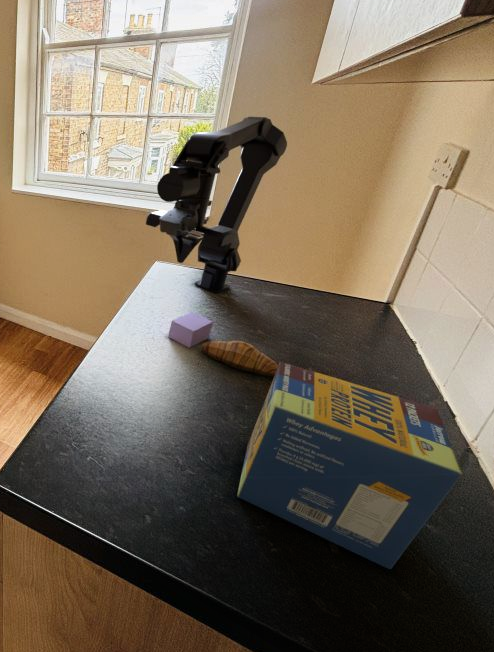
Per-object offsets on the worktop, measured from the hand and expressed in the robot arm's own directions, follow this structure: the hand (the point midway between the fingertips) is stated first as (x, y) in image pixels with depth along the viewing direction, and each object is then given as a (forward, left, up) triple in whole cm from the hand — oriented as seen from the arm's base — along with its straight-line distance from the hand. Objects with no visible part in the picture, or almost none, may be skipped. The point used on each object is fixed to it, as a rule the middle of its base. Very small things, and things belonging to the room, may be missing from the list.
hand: (180, 262), depth 94 cm
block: (+10, +11, -11) cm, 19 cm away
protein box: (+32, +42, -11) cm, 54 cm away
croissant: (+11, +22, -11) cm, 27 cm away
